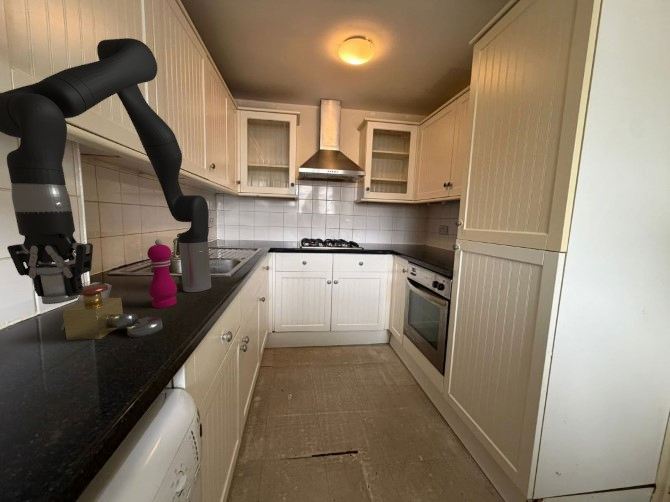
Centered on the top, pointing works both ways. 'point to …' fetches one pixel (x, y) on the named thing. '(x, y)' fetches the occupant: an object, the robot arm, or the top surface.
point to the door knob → (54, 284)
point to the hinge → (103, 294)
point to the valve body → (104, 317)
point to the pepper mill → (161, 276)
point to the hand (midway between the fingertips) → (60, 294)
